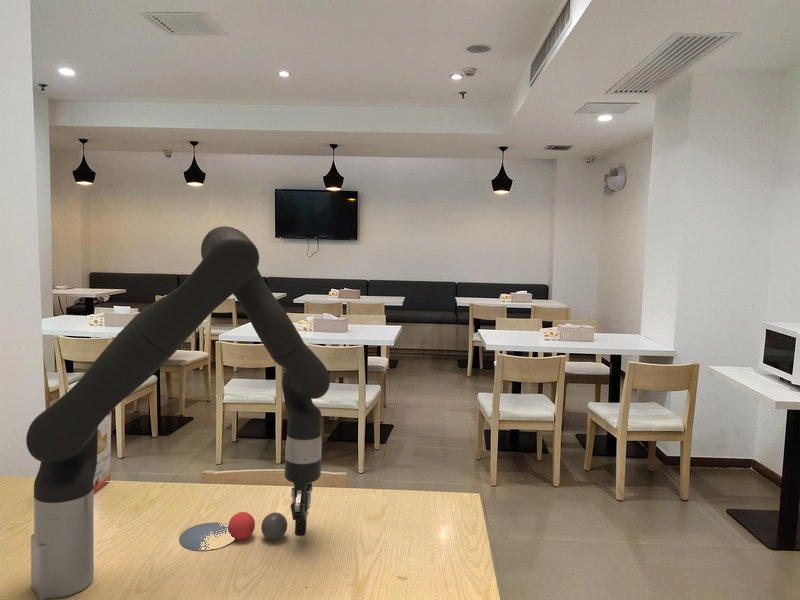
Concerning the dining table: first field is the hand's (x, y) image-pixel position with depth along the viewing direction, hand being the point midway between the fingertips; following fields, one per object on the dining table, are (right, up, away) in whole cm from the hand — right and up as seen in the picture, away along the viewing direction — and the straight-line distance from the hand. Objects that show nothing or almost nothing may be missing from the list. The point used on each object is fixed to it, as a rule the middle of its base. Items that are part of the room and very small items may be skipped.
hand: (300, 534), depth 124 cm
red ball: (-13, +2, 0) cm, 13 cm away
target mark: (-20, -1, 0) cm, 20 cm away
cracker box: (-56, +3, +18) cm, 59 cm away
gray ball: (-6, +2, 0) cm, 6 cm away
